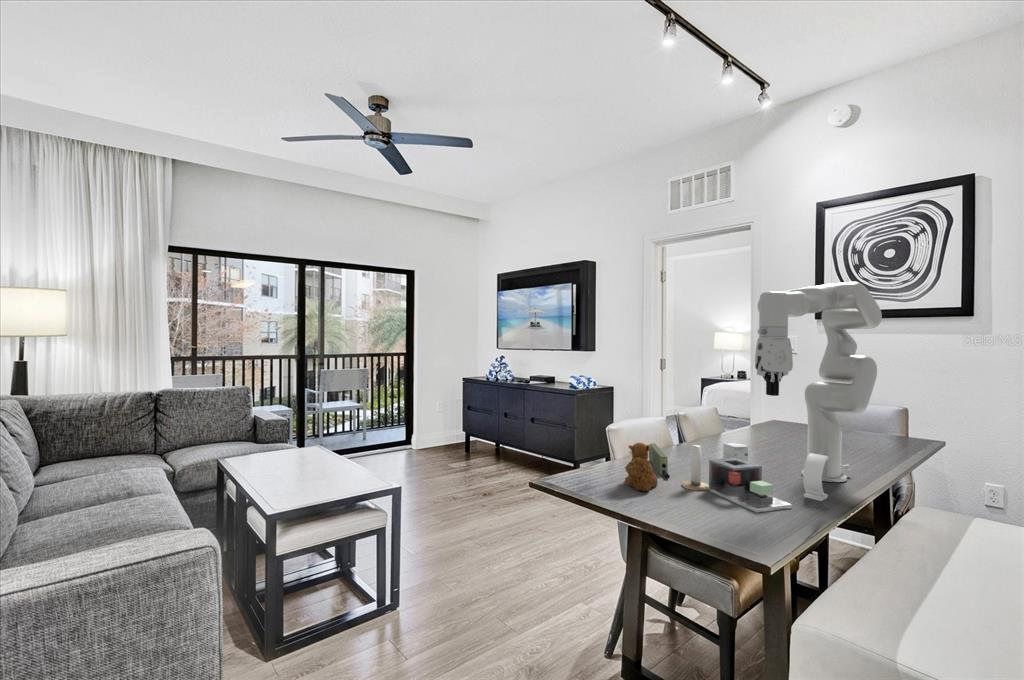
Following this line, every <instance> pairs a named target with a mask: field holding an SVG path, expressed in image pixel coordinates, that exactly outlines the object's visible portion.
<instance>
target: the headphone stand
mask: <svg viewBox="0 0 1024 680" xmlns="http://www.w3.org/2000/svg"><path fill="white" fill-rule="evenodd" d="M827 459H828V456H825V455H819V454H813V453H810V454H809V455H808V457H806V459H805V462H804V464H803V466H804V467H803V469H804V470H803V469H802V470H803V475H802V482H803V489H804V490H805V493H803V497H804V498H808V499H811V500H815V501H820V502H822V501H824V500H826V499H828V498H829V497H828V496H829V495H828V494H827V493H825V492H824V489H823V481H822V472H823V468H824V465H825V462H826V461H827Z"/></svg>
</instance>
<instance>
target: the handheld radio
mask: <svg viewBox="0 0 1024 680" xmlns="http://www.w3.org/2000/svg"><path fill="white" fill-rule="evenodd" d="M649 445H650V446H651V447H650V449H649V451H648V461H649V462H650V463H651V465H653V467H654V468H655V469H656V471H657V472H658V474H660V475H661V476H664V477H665V479H670V477H671V476H670V474H669V463H668V462H669V461H668V456H667V455H666V453H665V452H664V451H663V450H662V449H661V448H660V447H659V446H658V444H657V443H655V442H654V443H649Z"/></svg>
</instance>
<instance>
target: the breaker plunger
mask: <svg viewBox="0 0 1024 680" xmlns="http://www.w3.org/2000/svg"><path fill="white" fill-rule="evenodd" d="M728 482H729V483H731V484H732V485H733V486H738V484H741V473H740V472H737V471H729V479H728Z"/></svg>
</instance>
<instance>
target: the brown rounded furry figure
mask: <svg viewBox="0 0 1024 680" xmlns="http://www.w3.org/2000/svg"><path fill="white" fill-rule="evenodd" d="M650 447H651V446H650V444H645V443H643V442H636V443H635V444H633V445H631V444H630V445H628V449H630V451H629V452H628V453H629V454H631V456H632V458H631V460H630V461H629V462H628V464H627V465H626V466H625V467H624V468H625V473H627V474H628V475H627V476H626V477H625V478H624V483H625V484H626V485H627V486H629V487H632V488H635V490H636V491H639V492H650V490H652V488H655V487H657V486H658V477H657V475H656V474H655V473H654V472H653V466H652V463H651V461H650V460H649V449H650Z"/></svg>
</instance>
